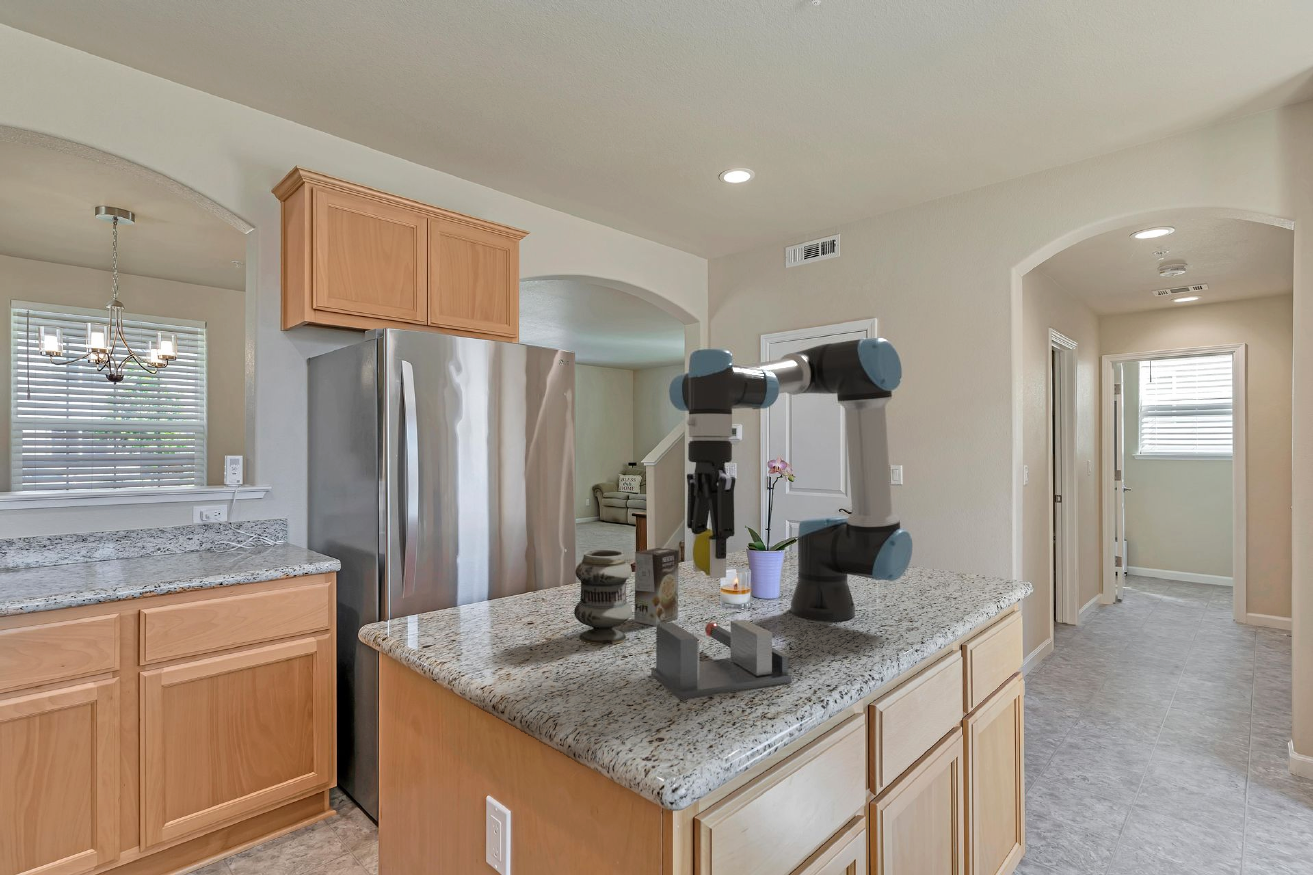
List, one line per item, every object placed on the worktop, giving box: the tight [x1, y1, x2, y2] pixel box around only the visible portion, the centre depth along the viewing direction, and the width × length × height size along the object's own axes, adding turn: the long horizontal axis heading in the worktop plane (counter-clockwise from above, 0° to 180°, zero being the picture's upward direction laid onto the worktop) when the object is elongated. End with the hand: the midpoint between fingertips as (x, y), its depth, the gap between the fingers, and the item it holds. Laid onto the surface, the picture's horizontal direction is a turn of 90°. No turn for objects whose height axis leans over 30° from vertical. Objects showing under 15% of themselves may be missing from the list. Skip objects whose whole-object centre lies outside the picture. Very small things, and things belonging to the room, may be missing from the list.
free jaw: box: [704, 619, 773, 676], centre depth 119 cm, size 3×20×7 cm, turn 23°
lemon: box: [692, 528, 713, 577], centre depth 111 cm, size 6×6×8 cm
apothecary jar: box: [573, 548, 633, 646], centre depth 135 cm, size 12×12×18 cm
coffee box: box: [633, 547, 680, 627], centre depth 150 cm, size 9×6×16 cm
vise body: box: [650, 621, 792, 701], centre depth 112 cm, size 21×12×9 cm, turn 113°
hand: (709, 573), depth 111 cm, fingers closed on lemon, 5 cm apart
